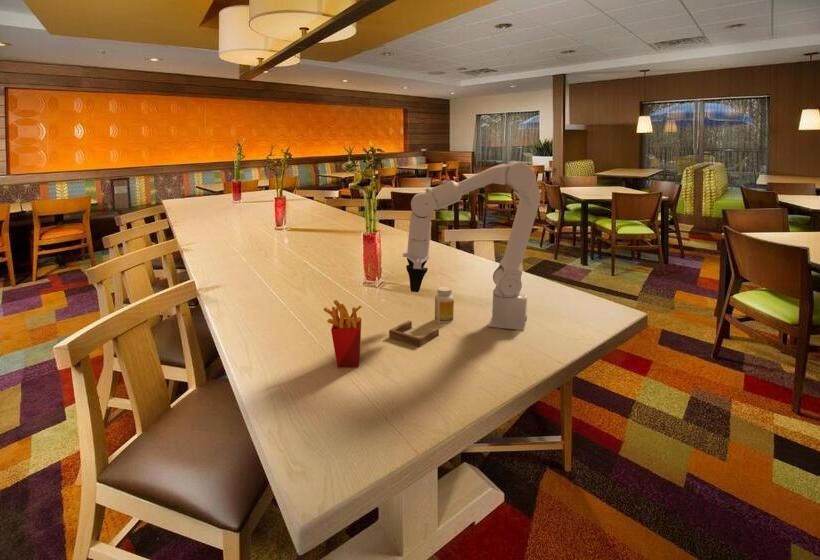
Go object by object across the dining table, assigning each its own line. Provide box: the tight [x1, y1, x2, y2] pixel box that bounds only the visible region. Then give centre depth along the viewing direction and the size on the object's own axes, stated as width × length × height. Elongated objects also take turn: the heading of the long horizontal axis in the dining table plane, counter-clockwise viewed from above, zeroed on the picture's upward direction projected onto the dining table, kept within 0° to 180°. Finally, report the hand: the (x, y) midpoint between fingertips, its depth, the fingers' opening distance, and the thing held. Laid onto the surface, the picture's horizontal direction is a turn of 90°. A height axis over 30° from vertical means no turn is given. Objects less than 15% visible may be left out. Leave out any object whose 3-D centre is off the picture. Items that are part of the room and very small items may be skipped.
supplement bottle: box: [434, 286, 455, 324], centre depth 136 cm, size 5×5×10 cm
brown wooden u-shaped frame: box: [388, 320, 440, 347], centre depth 126 cm, size 8×10×2 cm
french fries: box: [323, 299, 362, 369], centre depth 110 cm, size 9×8×15 cm
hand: (414, 287), depth 131 cm, fingers open, 7 cm apart
